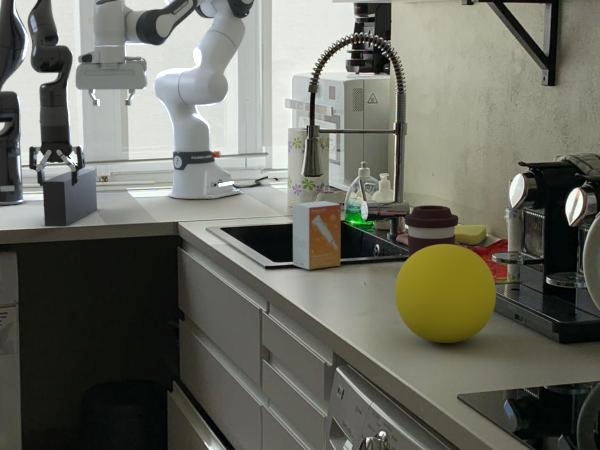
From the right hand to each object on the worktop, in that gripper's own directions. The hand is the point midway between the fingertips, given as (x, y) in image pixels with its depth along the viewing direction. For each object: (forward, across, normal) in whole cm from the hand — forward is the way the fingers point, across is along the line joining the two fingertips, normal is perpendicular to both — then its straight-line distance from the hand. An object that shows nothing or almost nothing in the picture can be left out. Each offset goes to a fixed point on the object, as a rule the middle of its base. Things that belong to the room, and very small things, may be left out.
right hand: (112, 105), depth 298 cm
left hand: (+19, +7, +30) cm, 36 cm away
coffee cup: (+29, -88, +98) cm, 135 cm away
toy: (+29, -89, +136) cm, 165 cm away
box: (+29, +7, +19) cm, 36 cm away
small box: (+29, -65, +81) cm, 108 cm away
